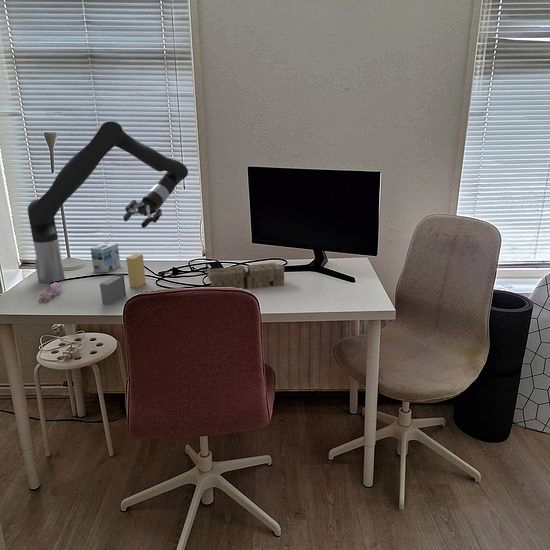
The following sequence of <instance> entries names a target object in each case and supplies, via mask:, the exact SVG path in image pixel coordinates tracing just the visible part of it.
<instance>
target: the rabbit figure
mask: <svg viewBox="0 0 550 550" xmlns="http://www.w3.org/2000/svg"><path fill="white" fill-rule="evenodd" d="M62 284H63V282H61V281H59V282H54V283H46V287H45V292H44V293H39V296H40V297H39V299H38V303H41V302H44V303H46V304H47V303H48V302H51V298H52V297H55V296H57V294H59V293H60V288H61V287H62Z"/></svg>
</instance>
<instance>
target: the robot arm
mask: <svg viewBox="0 0 550 550" xmlns="http://www.w3.org/2000/svg"><path fill="white" fill-rule="evenodd" d="M123 129H124V128H123V127H122V125H121V124H120V123H119V122H118V121H114V120H109V119H108V120H105V121H102V122H101V123H99V126H98V128H97V132H96V133H95V135H94V136H93V137H92V138H91V140H90V141H89V142H88V144H86V145H85V146H84V147H82V149H80V150H79V151H78V152H76V154H74V155H73V156H72V157H71V158H70V159H69V160H68V162H67V163H66V164H65V165H64V166H62V168H61V170H60V171H59V172H58V174H57V176H56V177H55V179H54V180H53V183H52V184H51V186H50V187H49V188H48V190H47V191H46V192H45V193H44V194H43V195H42V196H41V197H40V198H38V199H37V198H36V199H34V200H32V201H30V203H29V205H28V206H27V214H28V215H27V216H28V221H29V226H30V231H31V236H32V242H33V247H34V252H35V257H36V259H34V265H35V270H36V275H37V280H38V283H44V284H52V283H51V282H55V281H59V282H61V281H64V280H65V278H66V277H65V272H64V265H63V260H62V254H61V249H60V248H61V247H60V241H59V235H58V231H57V226H56V220H55V216H56V215H57V213H58V212H59V210H60V209H61V208H62V206H63V205H64V204H65V202H66V201H67V200H68V199H69V198H71V196H72V195H73V194H74V193H75V192H77V190H78V189H79V188H81V186H82V185H83V184H84V183H85V182H86V180H87V179H88V178H89V177H90V176H91V174H92V173H93V172H94V171H95V169H96V168H97V167H98V165H99V164H100V162H101V161H102V159H103V158H104V157H105V156H106V155H107V154H109V152H110V151H111V150H112V149H113V148H114V147H117V148H119V149H121V150H123V151H125V152H126V153H129V155H132V156H133V157H134V158H136V159H138V160H139V161H141V162H142V163H143V164H145V165H147V166H149V167H150V168H152V169H153V170H155V171H157V172H159V173H160V172H165V173H164V174H163V176H162V178H160V179H159V180H158V181H157V183H155V184H154V186H153V187H152V188H151V189H149V191H148V192H147V193H146V194H145V195H144V196H143V197H142V199H141V201H140V202H137V201H136V199H132V200H131V202H130V203H129V204H128V205H126V206H125V208H124V209H125V211H126V213H125V214H124V215H123V221H124V222H128V221H129V219H130V218H132V216H133V215H139V214H140V215H141V216H142V215H143V216H144V217H146V218H145V219H144V220H143V221H142V223H140V226H141V228H143V229H145V228H147V227H148V225H149V224H150V223H153V224H156V223H157V222H158V221H159V219H160V218H161V217H162V216H163V211H162V208H161V207H162V205H164V203H165V202H166V201H167V200H168V198H169V196H170V195H171V194H172V193H173V192H174V190H175V188H176V186H177V185H178V184H180V183H181V182H182V181H184V179H185V178H186V177H188V175H189V170H188V168H187V166H186V165H185V164H183V163H182V162H181V161H179V160H177V159H176V160H175V159H173V158H170V157H167V156H165V155H164V154H162V153H160V152H158V151H157V150H155V149H153V148H152V147H150V146H148V145H146V144H144V143H143V142H140V141H138V140H137V139H135V138H134V137H132V136H130V135H129V134H127V133H126V131H124V130H123ZM153 214H154V215H153ZM60 280H61V281H60Z"/></svg>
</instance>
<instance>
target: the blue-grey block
mask: <svg viewBox="0 0 550 550" xmlns="http://www.w3.org/2000/svg"><path fill="white" fill-rule="evenodd" d="M99 287H100V293H101V295H100V296H101V302H102V305H107V306H108V305H109V306H111V305H113V304H116V303H117V302H118V301H119V300H121V299H123V298H124V297H126V296H127V291H126V284H125V278H124V274H120V273H119V274H116V273H115V274H113V276H111V277H109V278H108V279H105V280H104V281H102V282H100V283H99Z"/></svg>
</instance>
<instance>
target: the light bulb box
mask: <svg viewBox="0 0 550 550" xmlns="http://www.w3.org/2000/svg"><path fill="white" fill-rule="evenodd" d="M90 253H91V255H90V256H91V260H92V261H91V262H92V267H93V272H94V271H95V272H96V273H102V272H107V273H108V271H109V272H111V271H113V270H116V269H118V268H120V267H121V261H120V258H121V257H120V251H119V243H117V242H115V243H114V242H109V241H108V242H107V241H105V242H103V243H101V244H98V245H95V246H93V247H91V248H90ZM119 266H120V267H119ZM117 267H118V268H117ZM115 268H116V269H115ZM112 269H113V270H112ZM110 270H111V271H110ZM95 272H94V273H95Z"/></svg>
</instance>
